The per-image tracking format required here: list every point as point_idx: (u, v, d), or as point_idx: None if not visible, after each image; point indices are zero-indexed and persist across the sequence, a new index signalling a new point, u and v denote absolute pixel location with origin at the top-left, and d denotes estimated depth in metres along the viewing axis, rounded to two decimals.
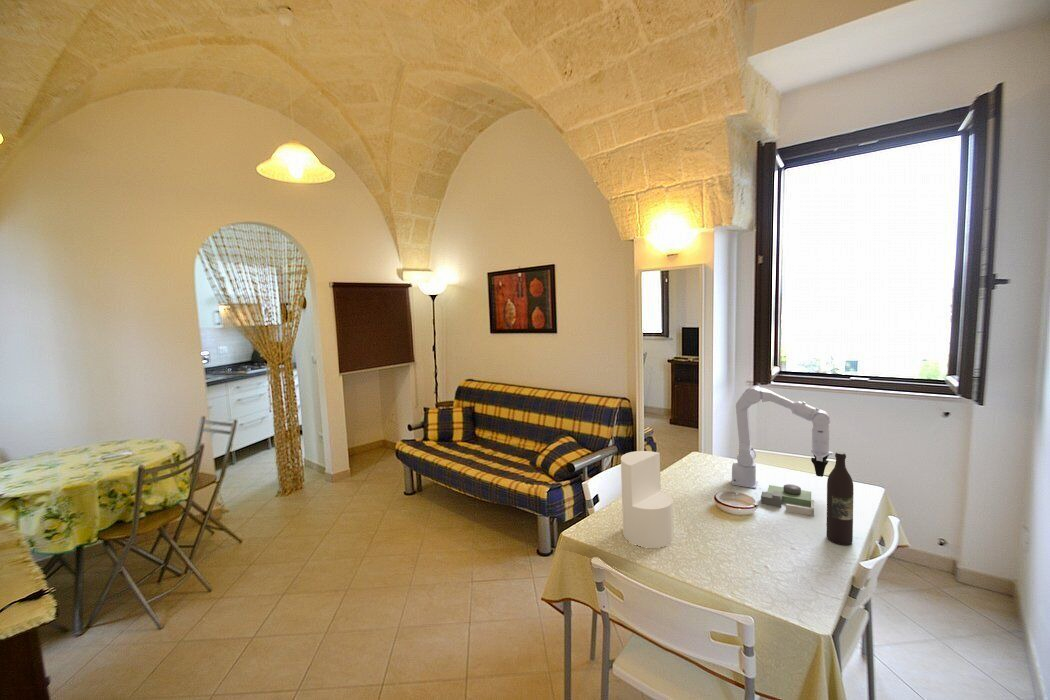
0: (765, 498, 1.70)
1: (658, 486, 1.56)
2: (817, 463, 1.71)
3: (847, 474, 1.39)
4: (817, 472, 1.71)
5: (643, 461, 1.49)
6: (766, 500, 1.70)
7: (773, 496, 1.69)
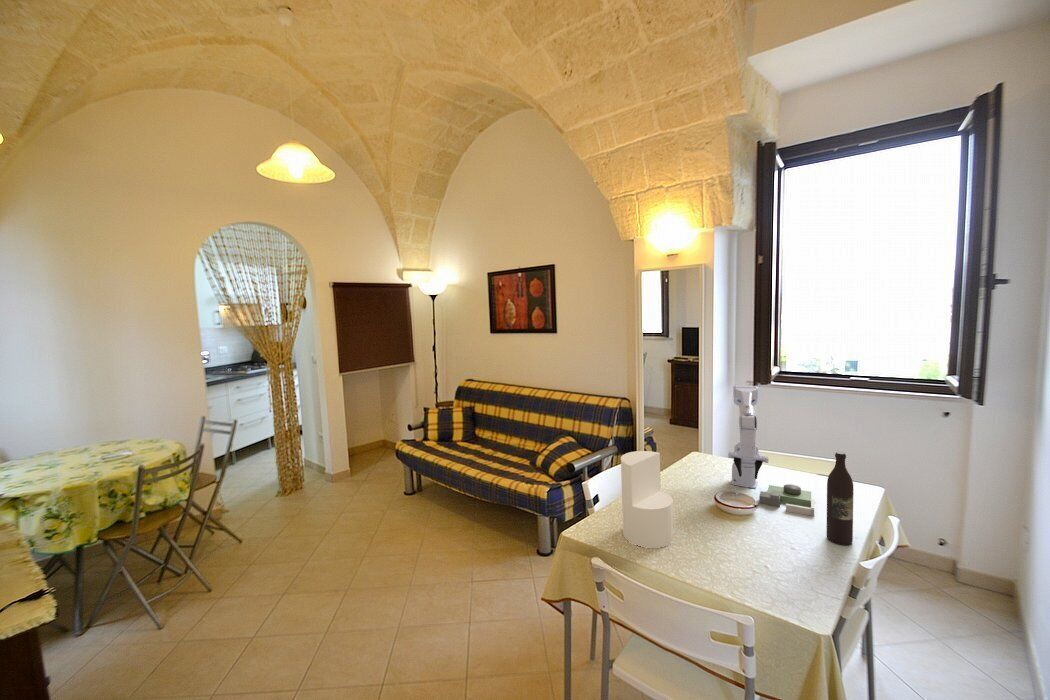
0: (763, 498, 1.71)
1: (658, 486, 1.56)
2: None
3: (847, 474, 1.39)
4: None
5: (643, 461, 1.49)
6: (764, 500, 1.71)
7: (771, 496, 1.69)
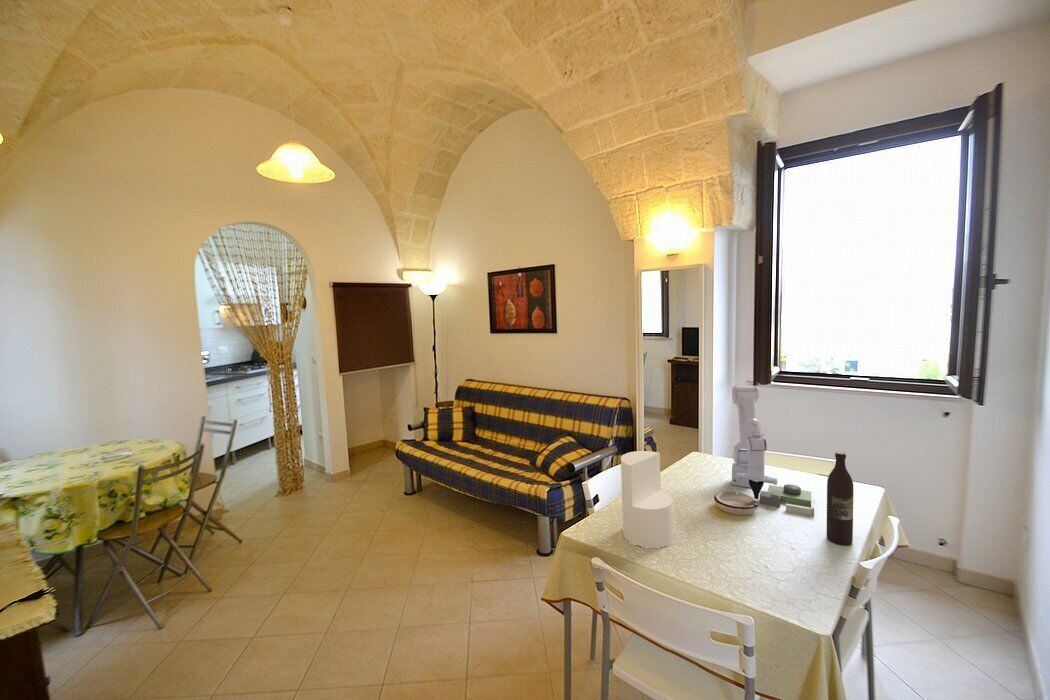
0: (764, 497, 1.71)
1: (658, 486, 1.56)
2: None
3: (847, 474, 1.39)
4: None
5: (643, 461, 1.49)
6: (765, 499, 1.71)
7: (772, 495, 1.69)
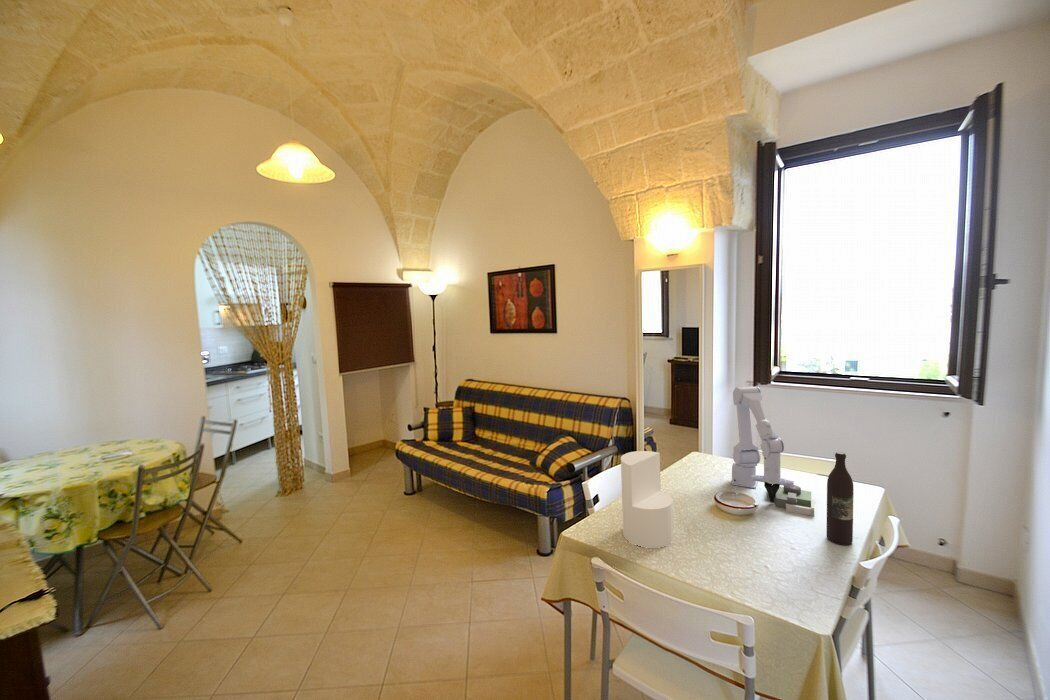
0: (780, 500, 1.68)
1: (658, 486, 1.56)
2: None
3: (847, 474, 1.39)
4: None
5: (643, 461, 1.49)
6: (781, 502, 1.68)
7: (788, 498, 1.66)
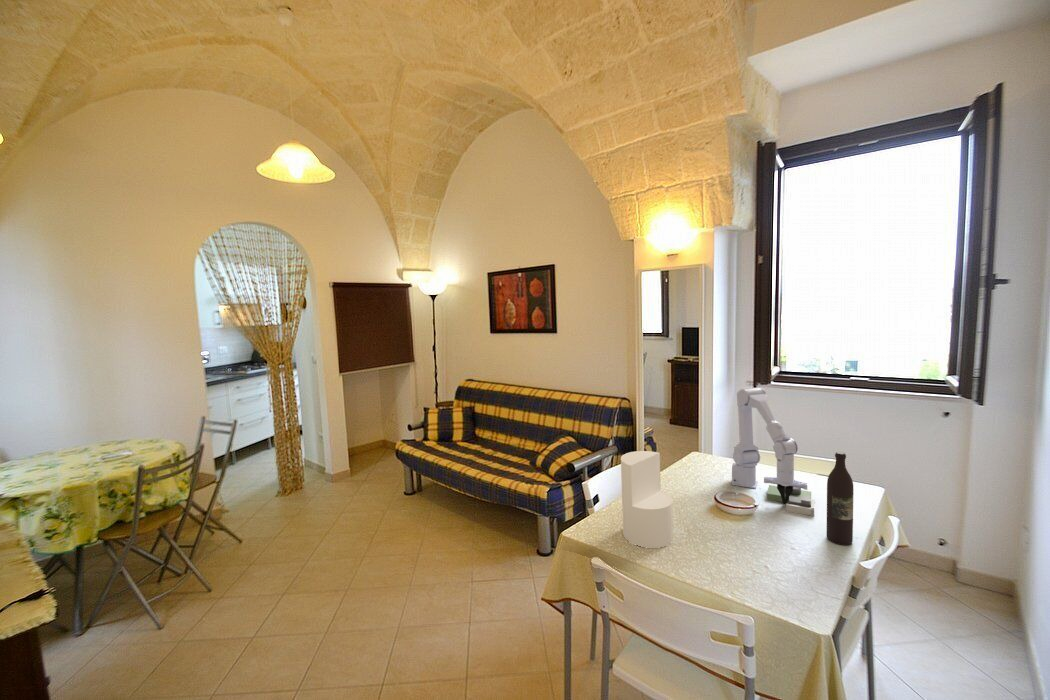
0: (793, 503, 1.65)
1: (658, 486, 1.56)
2: None
3: (847, 474, 1.39)
4: None
5: (643, 461, 1.49)
6: None
7: (802, 501, 1.64)
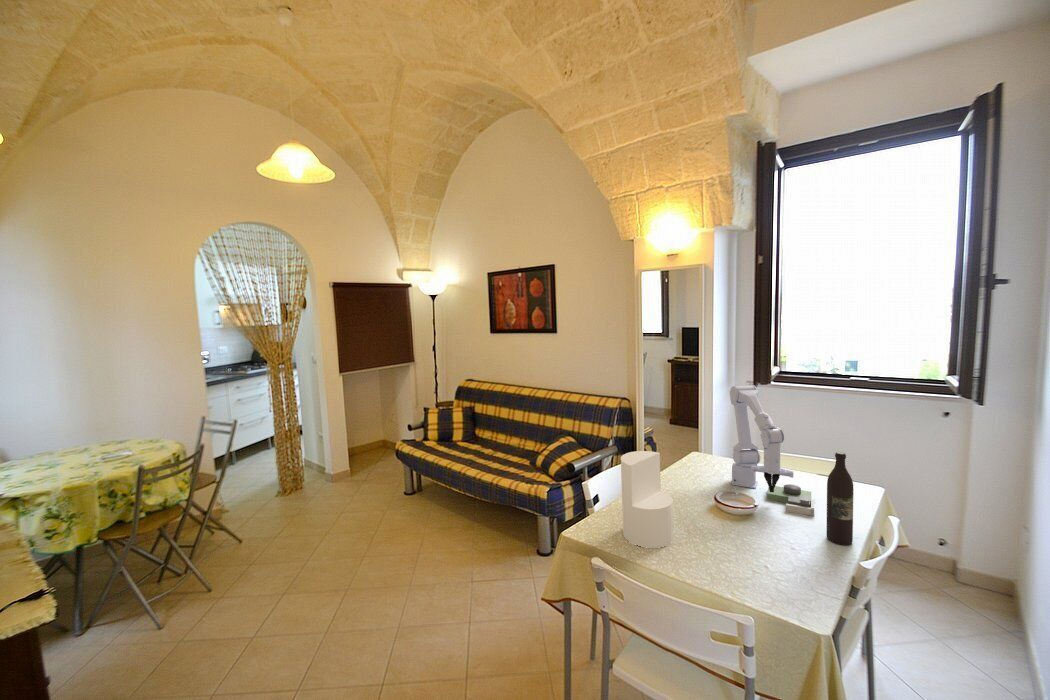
0: (793, 503, 1.65)
1: (658, 486, 1.56)
2: None
3: (847, 474, 1.39)
4: None
5: (643, 461, 1.49)
6: None
7: (801, 501, 1.64)
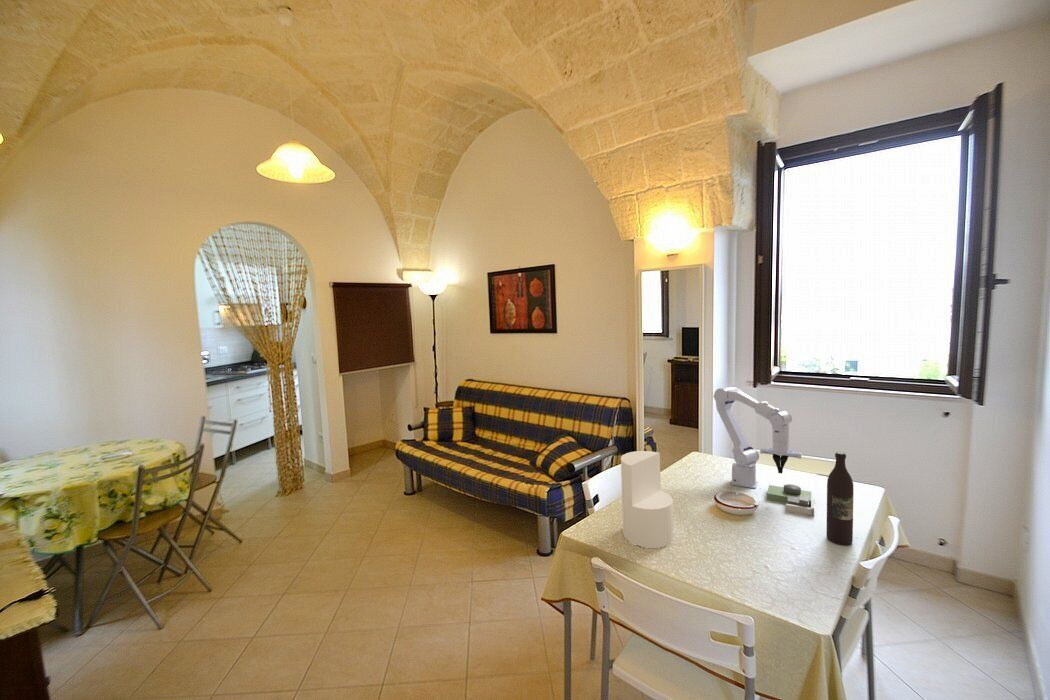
0: (792, 503, 1.65)
1: (658, 486, 1.56)
2: None
3: (847, 474, 1.39)
4: None
5: (643, 461, 1.49)
6: None
7: (800, 501, 1.64)
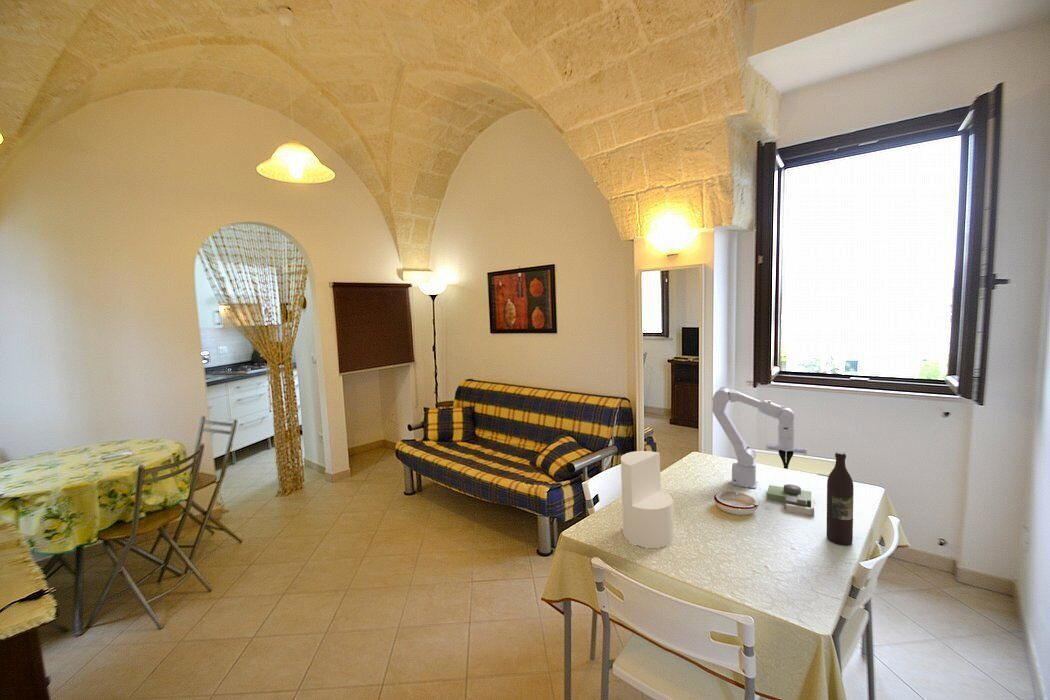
0: (790, 502, 1.66)
1: (658, 486, 1.56)
2: None
3: (847, 474, 1.39)
4: None
5: (643, 461, 1.49)
6: None
7: (798, 500, 1.64)
